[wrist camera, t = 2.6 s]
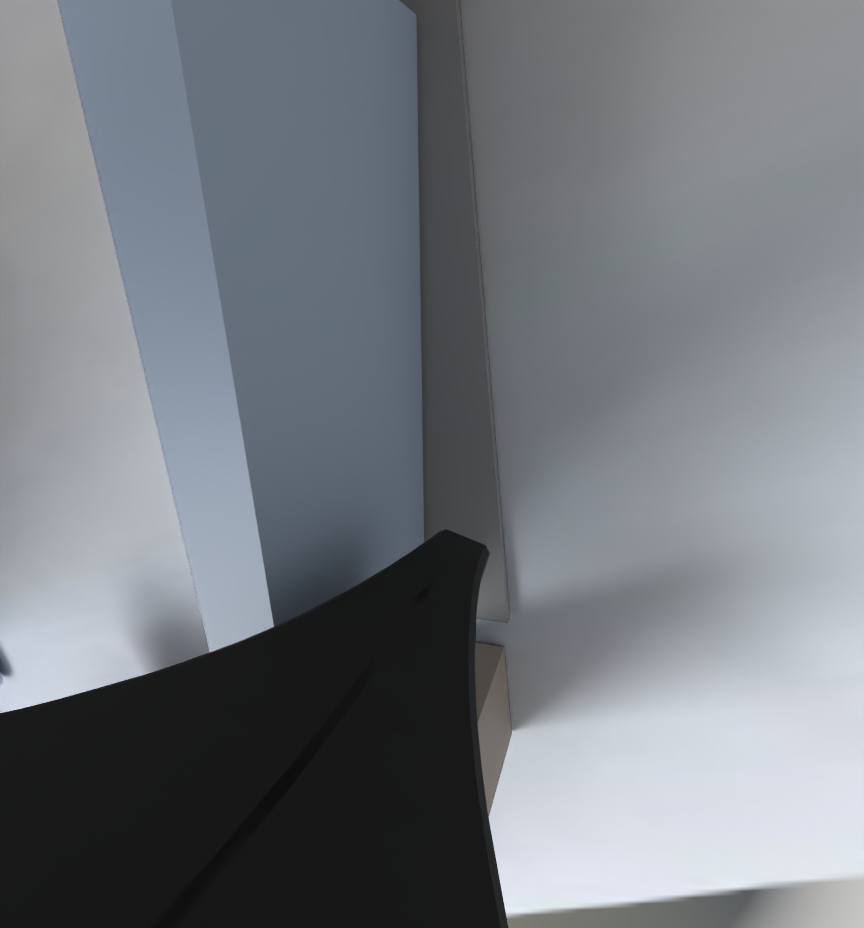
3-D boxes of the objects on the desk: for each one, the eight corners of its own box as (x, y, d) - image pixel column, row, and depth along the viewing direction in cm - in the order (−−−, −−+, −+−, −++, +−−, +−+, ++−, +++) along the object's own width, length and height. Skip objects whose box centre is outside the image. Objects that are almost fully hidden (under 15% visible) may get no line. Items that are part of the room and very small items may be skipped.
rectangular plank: (286, 32, 9) (-75, -144, 5) (416, 15, 8) (135, -218, 4) (341, 598, 14) (192, 781, 9) (425, 619, 13) (307, 828, 9)
